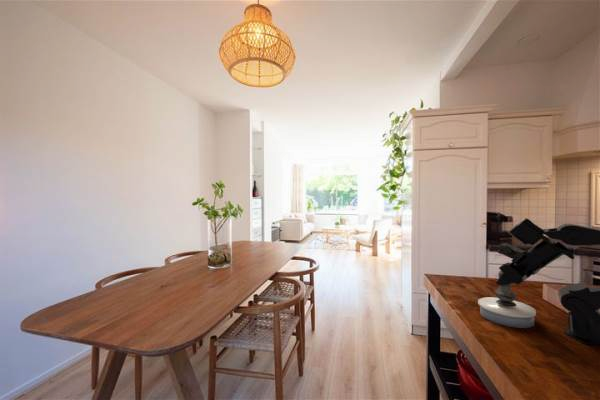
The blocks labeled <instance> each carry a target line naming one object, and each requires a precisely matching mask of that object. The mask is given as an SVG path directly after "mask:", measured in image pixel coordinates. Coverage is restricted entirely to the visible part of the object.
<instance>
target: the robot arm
mask: <svg viewBox="0 0 600 400" xmlns="http://www.w3.org/2000/svg"><path fill="white" fill-rule="evenodd" d="M507 233H508V234H509V235H511V236H512V237H513V238H514V239H517V240H518V241H519V242H521V244H524V245H525V246H526V245H528V244H529V245H531V246H532V247H531V248H529V249H526V250H523V249H521V248H519V247H517V246H514V245H513V244H509V243H507V242H503V243H501V244H500V245H499V246H498V247H497V254H499V255H503V256H505V257H507V258H510V259H511V260H510V261H511V262H506V263H502V265H500V266H499V267H498V269H499V270H500V271H502V272H503V274H502V276H501V277H500V278H499V277H498V279H497V281H496V282H495V284H496V285H497V286H499V285H506V284H510V285H512V284H516V285H519V284H522V283H523V282H525V281H526V280H527V279H529V278H530V277H531V276H534V275H536V274H537V273H539V272H541V270H542V269H544V268H545V267H547V266H548V265H549V264H551V263H553V262H555V260H557V259H559V258H561V257H562V256H564V255H565V257H568V258H569V259H571V260H574V259H575V250H576V249H575V247H568V246H566V245H570V246H600V229H597V228H594V227H589V226H584V225H580V224H574V223H564V224H560V225H559V226H558V227H554V228H544V229H543V228H541V227H539V226H538V225H537V224H535V223H534V222H532V220H530V219H529V218H527V217H526V218H525V219H523V220H521V221H520V222H519V223H517V224H515V225H514V226H513V227H511V229H510V230H508V231H507ZM540 240H541V241H540ZM554 240H555V241H554ZM558 240H559V241H558ZM536 243H537V244H536ZM563 243H564V244H563ZM565 244H566V245H565ZM533 245H534V246H533ZM564 285H565V286H564V287H561V288H559V290H558V292H557V297H558V299H559V301H560V304H561V306H562V307H563V308H564V309H566V310H567V311H568V312H567V313H568V316H567V321H568V330H566V329H565V330H563V333H564V334H566V335H568V336H570V337H571V338H573V339H575V340H577V341H579V342H580V343H582V344H584V345H597V346H600V286H597V287H596V286H587V284H586V283H585V282H583V281H581V282H577V283H573V284H564Z"/></svg>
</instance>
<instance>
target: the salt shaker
mask: <svg viewBox="0 0 600 400" xmlns="http://www.w3.org/2000/svg"><path fill="white" fill-rule="evenodd" d="M497 274H498V279H499V278H500V277H501V276H502V274H503V272H502V271H501V270H500V271H498V273H497ZM493 292H494V293H495V296H496V298H499V299H500V300H497V301H496V303H498V304H500V305H503V306H510V307H514V306H516V304H515V303H514V302H512V301H516V298H517V297H516V296H517V293H516V292H515V291H514V292H513V291H512V289H511V284H506V285H498V289H496V290H494V291H493Z"/></svg>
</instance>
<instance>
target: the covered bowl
mask: <svg viewBox="0 0 600 400" xmlns="http://www.w3.org/2000/svg"><path fill="white" fill-rule="evenodd" d="M497 300H500V299H499V298H497V297H492V296H491V297H489V296H488V297H482V298H479V299H478V300H477V303H478V306H479V308H480V310H479V312H480V315H481V316H482V317H483V318H485V320H486V319H487V320H488V321H490V322H493V323H496V324H498V325H502V326H506V327H510V328H511V327H512V328H518V329H519V328H520V329H529V328H532V327H534V326H535V316H536V315H537V310H536V309H535V308H534V307H532V306H530V305H528V304H525V303H523V302H520V301H517V300H514V301H512V302H514V303H515V304H516V306H514V307H510V306H503V305H500V304H498V303H496V301H497Z"/></svg>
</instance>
